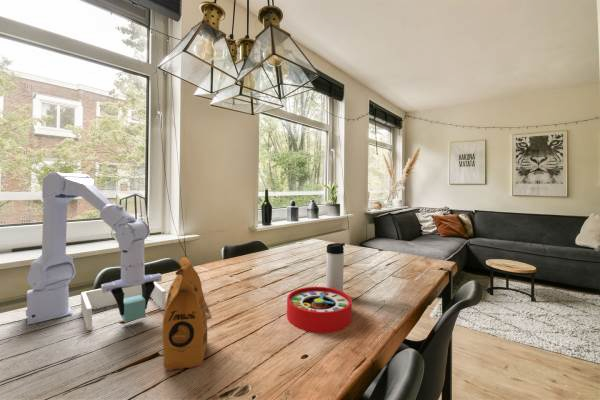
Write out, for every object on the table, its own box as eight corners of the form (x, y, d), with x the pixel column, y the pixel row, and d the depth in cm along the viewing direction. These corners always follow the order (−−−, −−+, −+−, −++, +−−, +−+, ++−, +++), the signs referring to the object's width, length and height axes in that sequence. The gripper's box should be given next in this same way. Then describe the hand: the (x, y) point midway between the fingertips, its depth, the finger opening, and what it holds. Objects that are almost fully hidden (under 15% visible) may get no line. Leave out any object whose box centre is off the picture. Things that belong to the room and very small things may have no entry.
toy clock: (277, 306, 78) (298, 283, 97) (276, 326, 78) (298, 299, 97) (347, 317, 72) (355, 290, 91) (346, 339, 72) (354, 308, 91)
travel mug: (343, 301, 95) (344, 245, 94) (324, 299, 97) (325, 244, 96) (344, 295, 101) (345, 241, 101) (326, 293, 103) (327, 241, 102)
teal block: (125, 322, 74) (124, 304, 74) (121, 316, 78) (121, 299, 77) (145, 317, 77) (145, 299, 77) (140, 311, 81) (140, 294, 81)
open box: (87, 330, 74) (87, 309, 74) (81, 311, 86) (81, 292, 85) (165, 309, 88) (165, 290, 87) (151, 294, 99) (151, 278, 99)
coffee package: (155, 376, 57) (154, 272, 56) (167, 343, 69) (166, 257, 68) (205, 368, 59) (205, 268, 58) (208, 337, 71) (208, 255, 70)
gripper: (103, 272, 69) (104, 324, 69) (164, 262, 79) (165, 308, 79) (99, 266, 74) (100, 315, 75) (157, 257, 84) (157, 300, 85)
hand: (133, 311), depth 77 cm, fingers closed on teal block, 5 cm apart
